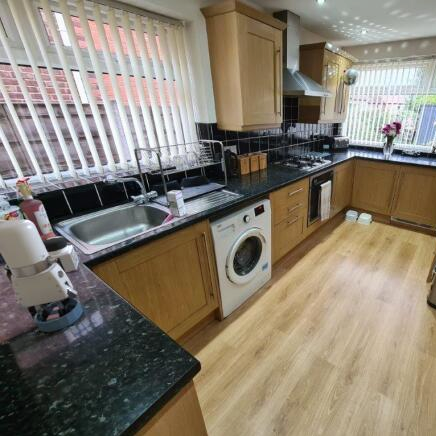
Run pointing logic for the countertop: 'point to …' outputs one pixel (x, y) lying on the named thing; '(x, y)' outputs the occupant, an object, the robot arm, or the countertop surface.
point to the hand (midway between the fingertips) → (59, 318)
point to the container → (62, 253)
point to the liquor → (35, 213)
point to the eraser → (53, 314)
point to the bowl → (62, 321)
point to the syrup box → (176, 203)
